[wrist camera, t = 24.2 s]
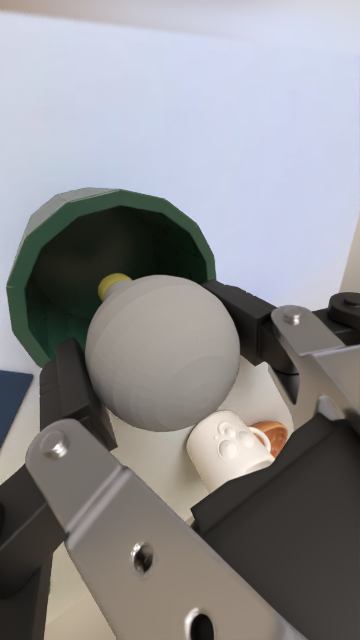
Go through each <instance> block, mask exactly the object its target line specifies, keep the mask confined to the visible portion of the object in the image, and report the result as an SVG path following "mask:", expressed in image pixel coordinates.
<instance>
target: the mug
mask: <svg viewBox="0 0 360 640" xmlns="http://www.w3.org/2000/svg"><path fill="white" fill-rule="evenodd" d="M253 433H255V434H257V435H258V436H260V437H261V438H262V439H263V441H264V444H265V446H264V445H263V444H262V443H261V442H260V441H259V440H258V438H257V437H256V436H255V435H254V434H253ZM270 450H271V445H270V441H269V439H268V438H267V436H266V435H265V434H264V433H263V432H262V431H261V430H259V429H257V428H254V427H247V426H246V425H245V423H244V422H243V421H242V420H241V419H240V418H239V417H238V416H237V415H236V414H235V413H234V412H232V411H228V410H222V411H218V412H215V413H212V414H211V415H209V416H208V417H207V418H205V419H204V420H202V421H201V422H199V423H198V424H197V426H196V427H195V428H194V429H193V431H192V432H191V434H190V436H189V438H188V441H187V453H188V455H189V457H190V459H191V461H192V462H193V464H194V466H195V468H196V470H197V472H198V473H199V475H200V477H201V479H202V481H203V482H204V484H205V486H206V488H207V490H208V492H209V493H210V494H211V493H212V492H213V491H215V490H216V489H217V488H219V487H220V486H221V485H223V484H224V483H225V482H227V481H229V480H231V479H234V478H237V477H240V476H243V475H246V474H249V473H251V472H254V471H257V470H260V469H263V468H266V467H268V466H270V465H271V464H272V463H273V462H274V460H275V459H274V457H273V456H272V455H271V453H270Z"/></svg>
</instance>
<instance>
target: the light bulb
mask: <svg viewBox="0 0 360 640" xmlns="http://www.w3.org/2000/svg"><path fill="white" fill-rule="evenodd" d="M98 295H99V297H100V299H101V301H102V302H103V303H102V305H101V306H100V307H99V308H98V310H97V312H96V313H95V315H94V317H93V319H92V321H91V323H90V326H89V329H88V333H87V340H86V349H85V363H86V368H87V372H88V375H89V378H90V381H91V384H92V387H93V389H94V392H95V393H96V395H97V397H98V398H99V399H100V401H101V402H102V403H103V404H104V405H105V406H106V407H107V408H108V409H109V410H110V411H111V412H112V413H113V414H114V415H115V416H117V417H118V418H120V419H121V420H123V421H125V422H126V423H128V424H130V425H132V426H134V427H137V428H140V429H145V430H149V431H154V432H169V431H176V430H180V429H184V428H187V427H189V426H192V425H194V424H197V423H199V422H200V421H202V420H204V419H205V418H207V417H208V416H209V415H211V414H212V413H213V412H214V411H215V410H216V409H217V408H218V407H219V406H220V405H221V404H222V403H223V401H224V400H225V399H226V397H227V396H228V394H229V392H230V390H231V388H232V386H233V384H234V383H235V380H236V377H237V374H238V370H239V364H240V342H239V337H238V333H237V330H236V328H235V325H234V322H233V320H232V318H231V316H230V315H229V313H228V311H227V310H226V308H225V307H224V305H223V304H222V302H221V301H220V300H219V299H218V298H217V297H216V296H215V295H213V294H212V293H211V292H209V291H208V290H206V289H205V288H203V287H202V286H200V285H199V284H197V283H195V282H193V281H191V280H188V279H184V278H179V277H174V276H168V275H152V276H146V277H142V278H139V279H136V280H132V279H131V278H129V277H128V276H126V275H124V274H121V273H114V274H110V275H108V276H106V277H105V278H104V279H103V280H102V281H101V282H100V284H99V287H98Z"/></svg>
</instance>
